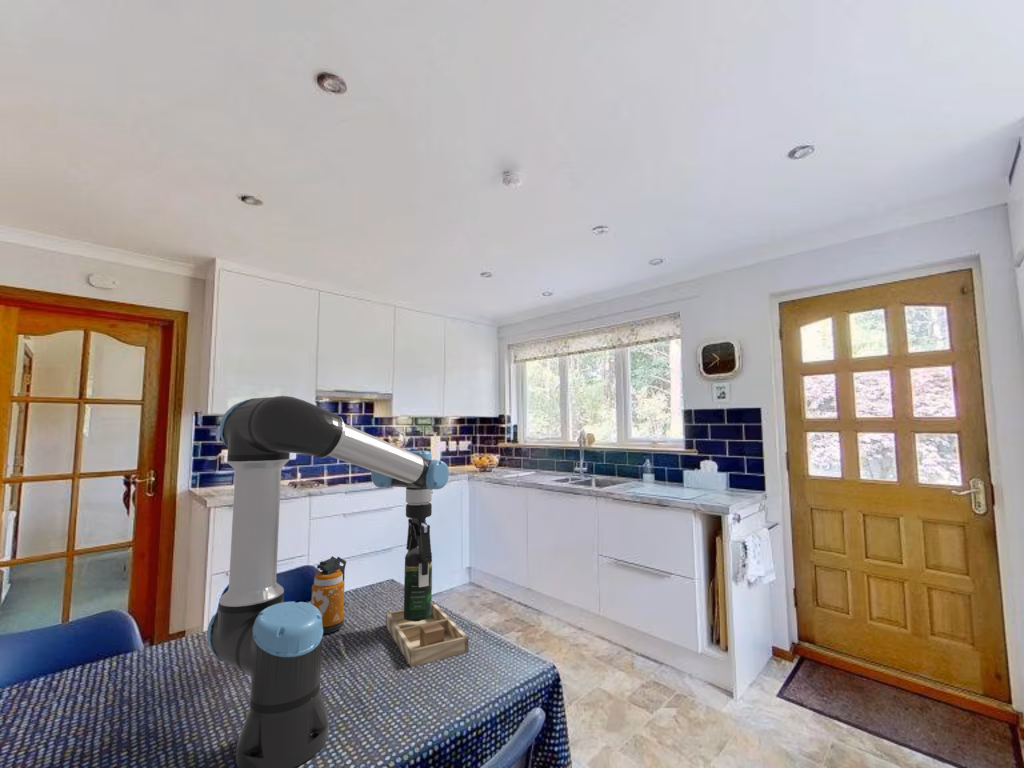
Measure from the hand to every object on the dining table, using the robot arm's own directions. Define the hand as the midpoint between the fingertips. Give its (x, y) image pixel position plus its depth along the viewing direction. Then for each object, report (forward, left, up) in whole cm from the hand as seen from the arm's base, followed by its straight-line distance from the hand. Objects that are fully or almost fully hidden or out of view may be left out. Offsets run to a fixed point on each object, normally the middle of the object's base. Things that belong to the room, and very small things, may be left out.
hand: (418, 580), depth 129 cm
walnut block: (-13, 0, -13) cm, 19 cm away
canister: (+16, +22, -14) cm, 31 cm away
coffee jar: (0, 0, -10) cm, 10 cm away
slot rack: (-7, 0, -14) cm, 15 cm away
